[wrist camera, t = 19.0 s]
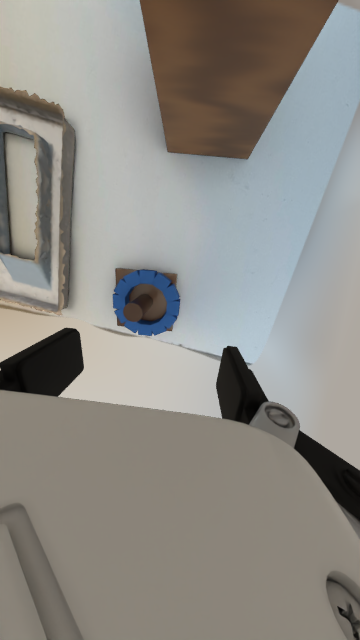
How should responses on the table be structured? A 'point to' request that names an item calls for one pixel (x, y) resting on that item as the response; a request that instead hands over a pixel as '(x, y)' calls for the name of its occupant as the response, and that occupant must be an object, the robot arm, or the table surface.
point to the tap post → (144, 300)
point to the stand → (226, 66)
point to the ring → (159, 282)
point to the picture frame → (39, 203)
